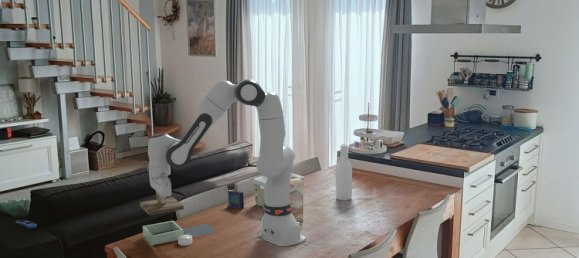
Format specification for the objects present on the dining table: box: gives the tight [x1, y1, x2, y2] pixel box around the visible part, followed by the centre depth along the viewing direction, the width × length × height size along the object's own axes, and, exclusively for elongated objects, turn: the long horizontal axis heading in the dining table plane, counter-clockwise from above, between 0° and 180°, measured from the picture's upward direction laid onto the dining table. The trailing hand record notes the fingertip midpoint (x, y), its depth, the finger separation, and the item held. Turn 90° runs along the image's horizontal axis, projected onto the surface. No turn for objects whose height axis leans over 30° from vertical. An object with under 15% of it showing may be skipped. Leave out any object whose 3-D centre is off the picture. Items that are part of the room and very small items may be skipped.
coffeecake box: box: [289, 178, 304, 222], centre depth 252 cm, size 15×7×20 cm, turn 105°
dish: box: [142, 220, 185, 248], centre depth 230 cm, size 14×14×5 cm
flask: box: [227, 186, 245, 210], centre depth 273 cm, size 9×3×11 cm, turn 65°
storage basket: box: [252, 173, 305, 209], centre depth 278 cm, size 24×16×15 cm
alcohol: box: [335, 143, 353, 201], centre depth 285 cm, size 9×9×30 cm
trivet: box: [182, 223, 218, 238], centre depth 238 cm, size 13×13×1 cm
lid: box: [139, 195, 185, 216], centre depth 228 cm, size 15×15×5 cm
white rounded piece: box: [177, 234, 193, 247], centre depth 223 cm, size 6×6×4 cm
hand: (161, 201), depth 228 cm, fingers closed on lid, 3 cm apart
